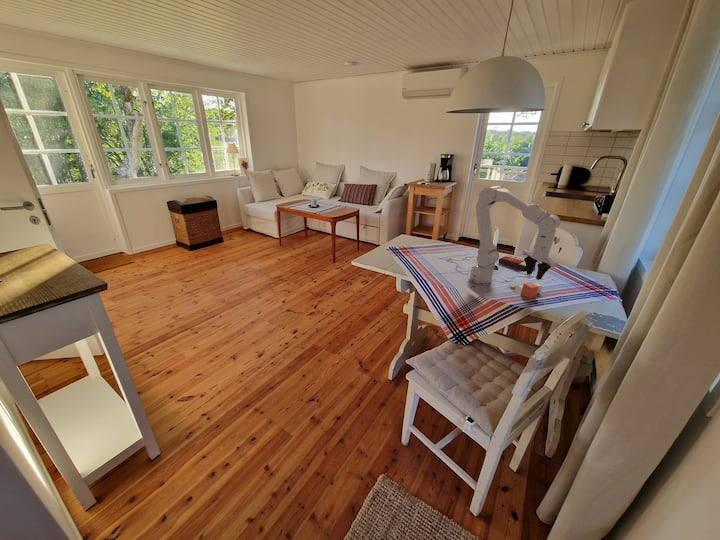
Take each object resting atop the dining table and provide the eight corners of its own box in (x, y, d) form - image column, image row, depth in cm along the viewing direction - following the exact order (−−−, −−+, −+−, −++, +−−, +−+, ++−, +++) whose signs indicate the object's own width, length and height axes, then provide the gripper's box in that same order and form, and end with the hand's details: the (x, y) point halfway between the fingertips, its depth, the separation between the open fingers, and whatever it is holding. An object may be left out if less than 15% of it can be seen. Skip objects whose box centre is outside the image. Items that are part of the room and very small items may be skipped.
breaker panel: (526, 302, 122) (527, 297, 121) (505, 289, 132) (506, 284, 131) (548, 298, 125) (549, 293, 124) (525, 285, 135) (527, 281, 135)
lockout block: (528, 298, 122) (531, 287, 120) (520, 293, 125) (523, 283, 123) (535, 297, 123) (538, 286, 121) (528, 292, 126) (531, 282, 124)
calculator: (508, 253, 165) (536, 260, 154) (507, 260, 166) (535, 268, 155) (498, 257, 159) (527, 265, 148) (497, 265, 160) (525, 273, 149)
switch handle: (532, 293, 125) (534, 286, 124) (529, 291, 127) (531, 284, 126) (540, 292, 126) (542, 285, 125) (536, 290, 128) (538, 283, 127)
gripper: (567, 251, 110) (556, 283, 115) (535, 239, 122) (527, 268, 128) (553, 252, 108) (543, 285, 113) (522, 240, 120) (514, 270, 126)
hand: (533, 276), depth 120 cm, fingers open, 4 cm apart
